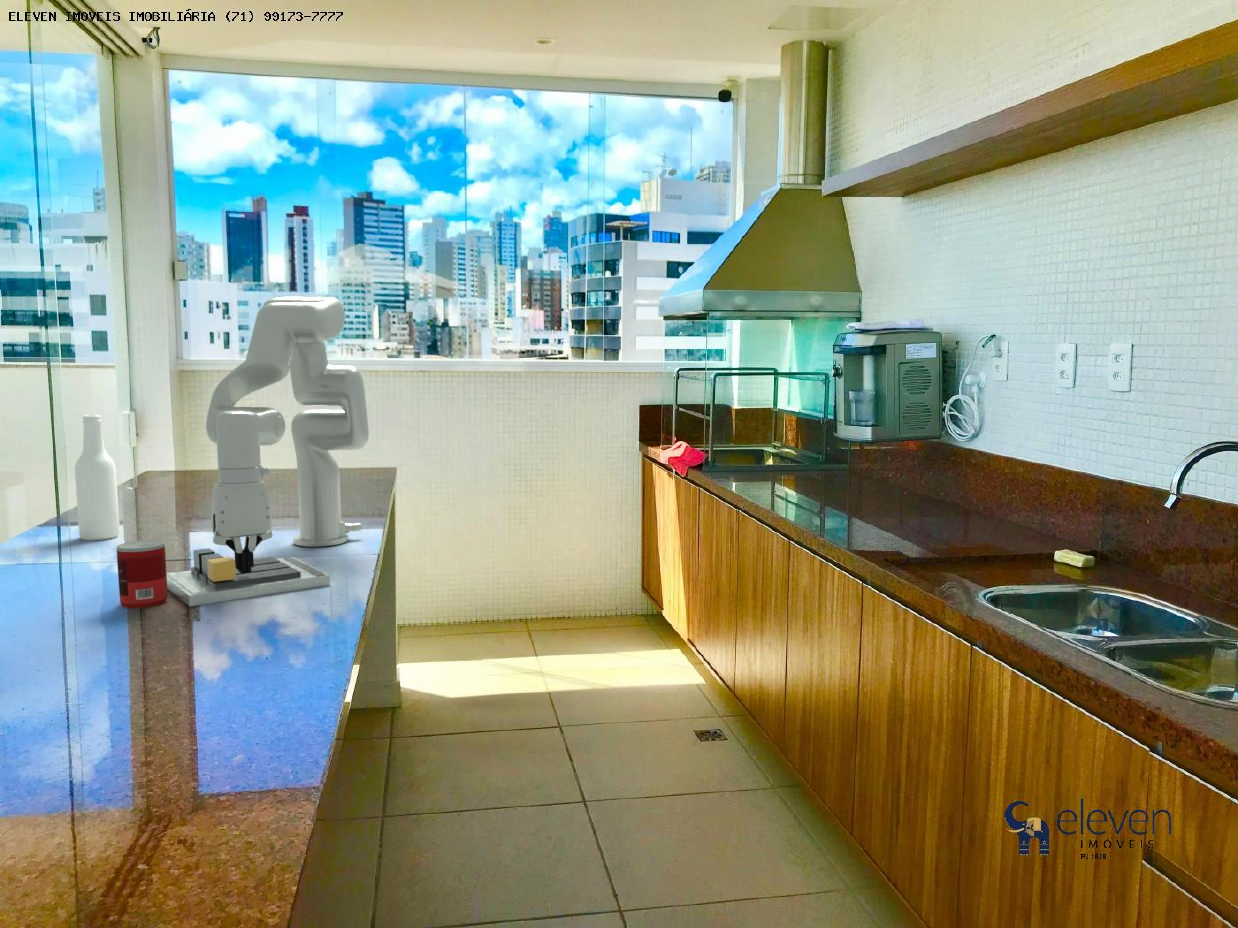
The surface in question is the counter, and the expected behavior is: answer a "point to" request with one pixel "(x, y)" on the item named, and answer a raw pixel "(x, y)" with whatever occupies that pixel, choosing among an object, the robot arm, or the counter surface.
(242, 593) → the panel
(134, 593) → the canned food
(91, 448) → the alcohol
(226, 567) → the mustard yellow cube
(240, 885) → the counter surface
